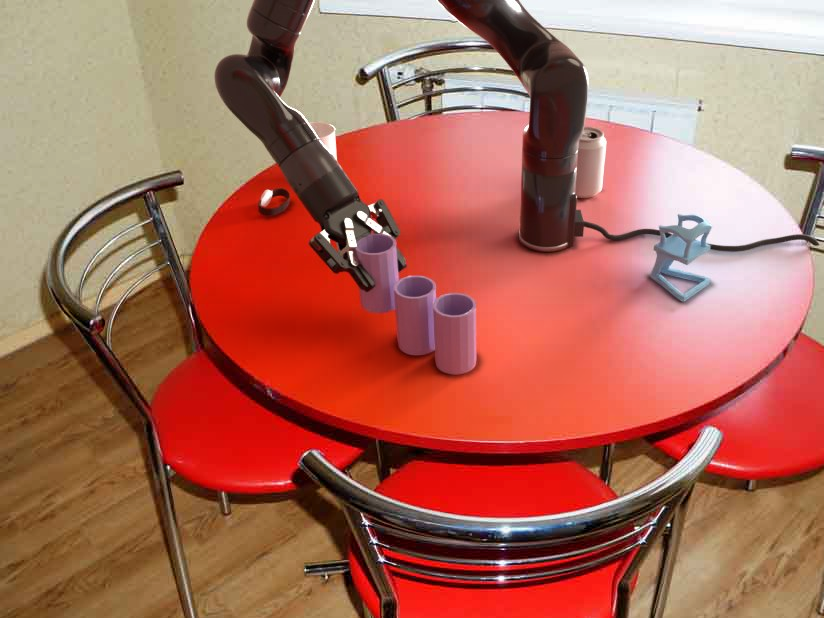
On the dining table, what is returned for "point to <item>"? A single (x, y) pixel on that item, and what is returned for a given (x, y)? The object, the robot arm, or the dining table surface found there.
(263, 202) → the watch
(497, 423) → the dining table surface
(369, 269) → the end cup
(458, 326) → the cup
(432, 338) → the middle cup
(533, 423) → the dining table surface
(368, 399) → the dining table surface
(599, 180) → the can
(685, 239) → the chair
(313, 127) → the white cup
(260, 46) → the robot arm
